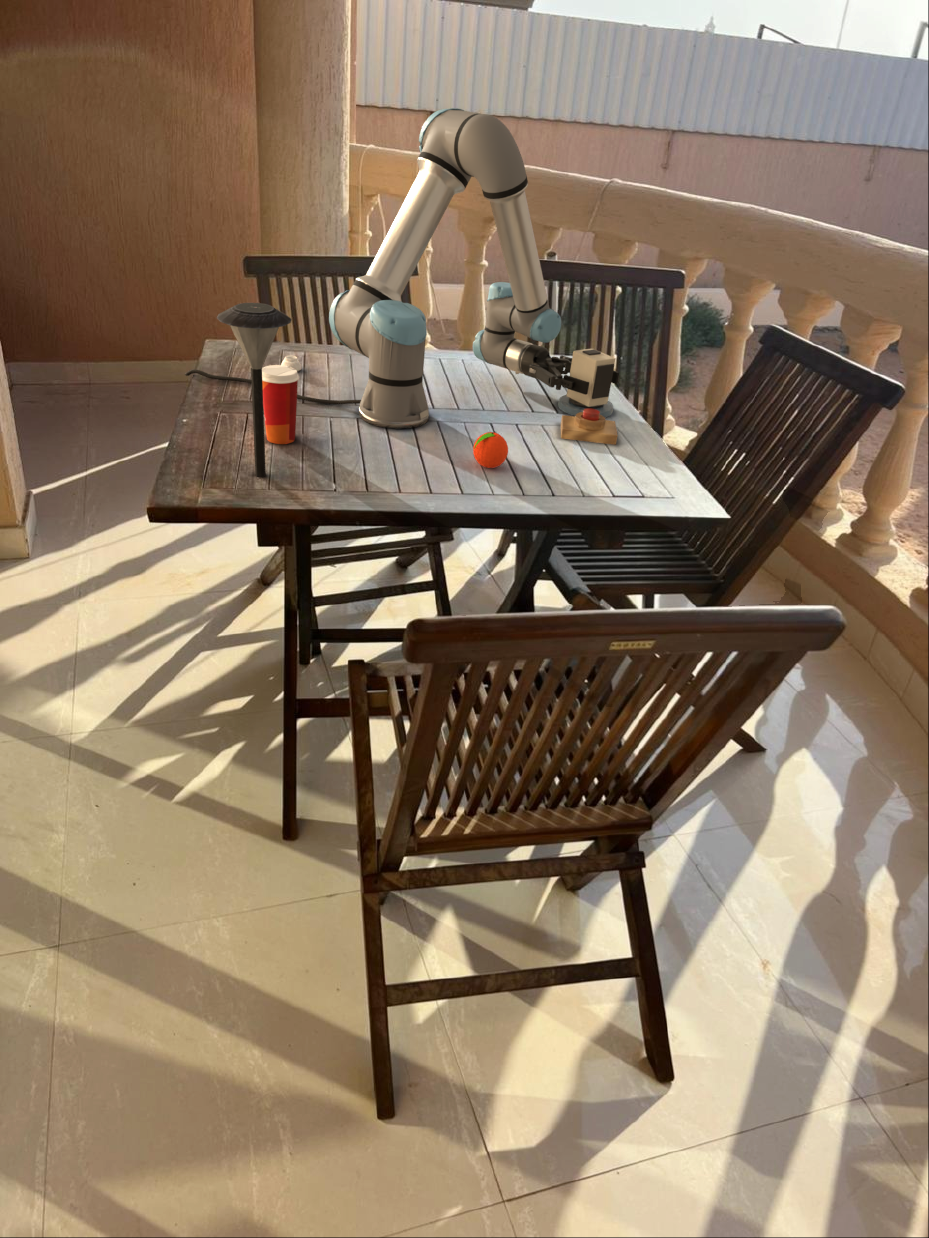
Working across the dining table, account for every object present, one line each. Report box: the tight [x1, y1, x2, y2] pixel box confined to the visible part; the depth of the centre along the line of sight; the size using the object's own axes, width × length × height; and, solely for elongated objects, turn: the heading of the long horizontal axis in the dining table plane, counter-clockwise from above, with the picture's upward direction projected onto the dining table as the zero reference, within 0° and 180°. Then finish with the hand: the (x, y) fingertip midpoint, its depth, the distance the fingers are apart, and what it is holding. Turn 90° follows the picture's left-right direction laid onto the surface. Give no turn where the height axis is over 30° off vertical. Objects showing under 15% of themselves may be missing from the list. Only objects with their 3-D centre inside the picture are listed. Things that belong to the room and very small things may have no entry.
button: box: [582, 408, 600, 421], centre depth 192 cm, size 4×4×2 cm
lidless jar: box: [280, 355, 303, 372], centre depth 213 cm, size 5×3×5 cm
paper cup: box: [262, 364, 300, 445], centre depth 173 cm, size 8×8×14 cm
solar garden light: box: [216, 302, 293, 478], centre depth 153 cm, size 12×12×30 cm
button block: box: [560, 412, 619, 446], centre depth 193 cm, size 12×9×4 cm
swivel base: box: [557, 394, 614, 418], centre depth 208 cm, size 13×13×2 cm
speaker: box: [566, 348, 617, 408], centre depth 204 cm, size 9×8×12 cm
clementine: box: [472, 431, 509, 469], centre depth 172 cm, size 8×7×7 cm
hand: (602, 383), depth 203 cm, fingers open, 12 cm apart
